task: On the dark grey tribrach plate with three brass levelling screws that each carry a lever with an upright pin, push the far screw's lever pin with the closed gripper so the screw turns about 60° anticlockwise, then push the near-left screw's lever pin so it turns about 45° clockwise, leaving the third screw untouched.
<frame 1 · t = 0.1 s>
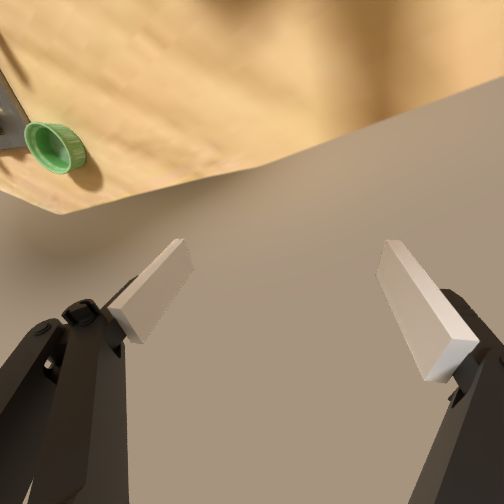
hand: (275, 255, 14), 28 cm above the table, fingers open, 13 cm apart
ramekin: (69, 146, 43), on the table
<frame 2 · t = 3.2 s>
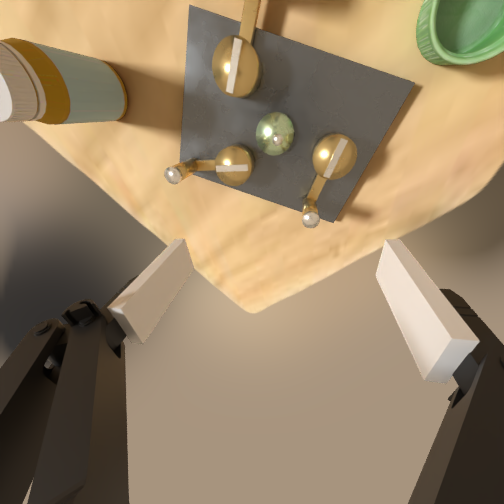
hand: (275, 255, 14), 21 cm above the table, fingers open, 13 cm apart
knob 2: (239, 31, 20), point 5 cm above the table, hinge at 0.0°
knob 3: (212, 168, 28), point 5 cm above the table, hinge at 0.0°
knob 1: (324, 181, 27), point 5 cm above the table, hinge at 0.0°
tribrach: (275, 133, 29), on the table
bottle: (108, 92, 30), on the table
ramekin: (461, 12, 20), on the table
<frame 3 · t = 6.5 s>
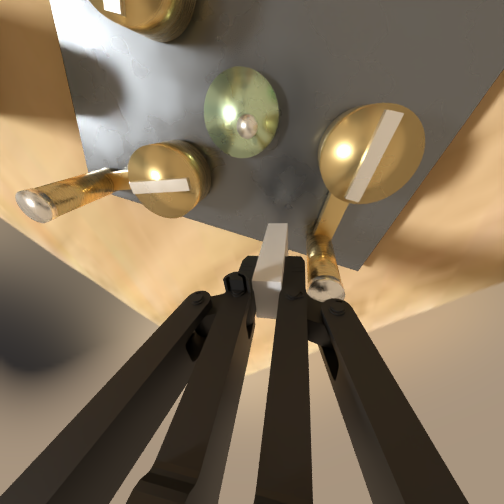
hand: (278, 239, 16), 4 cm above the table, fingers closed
knob 3: (125, 188, 15), point 5 cm above the table, hinge at 0.0°
knob 1: (347, 208, 13), point 5 cm above the table, hinge at 3.0°, touching gripper
tribrach: (246, 116, 15), on the table
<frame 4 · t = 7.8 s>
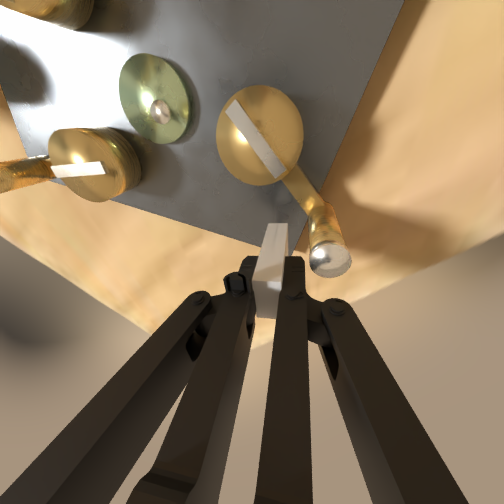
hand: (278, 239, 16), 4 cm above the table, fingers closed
knob 3: (48, 172, 15), point 5 cm above the table, hinge at 0.0°
knob 1: (286, 181, 12), point 5 cm above the table, hinge at 54.7°, touching gripper
tribrach: (166, 103, 16), on the table
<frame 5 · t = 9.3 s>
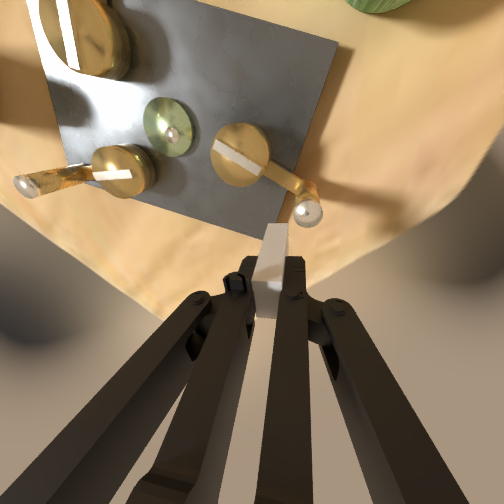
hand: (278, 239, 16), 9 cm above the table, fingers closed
knob 3: (90, 176, 21), point 5 cm above the table, hinge at 0.0°
knob 1: (265, 175, 18), point 5 cm above the table, hinge at 76.0°
tribrach: (176, 128, 22), on the table
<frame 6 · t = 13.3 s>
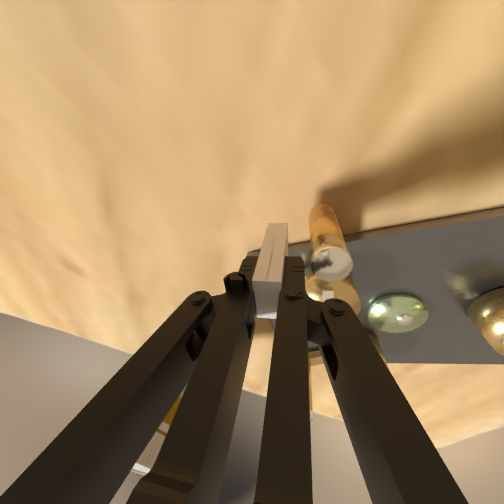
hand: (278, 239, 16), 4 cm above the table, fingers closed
knob 2: (327, 284, 16), point 5 cm above the table, hinge at -6.1°, touching gripper
knob 3: (336, 378, 23), point 5 cm above the table, hinge at 0.0°
tribrach: (390, 302, 22), on the table
bottle: (197, 325, 31), on the table
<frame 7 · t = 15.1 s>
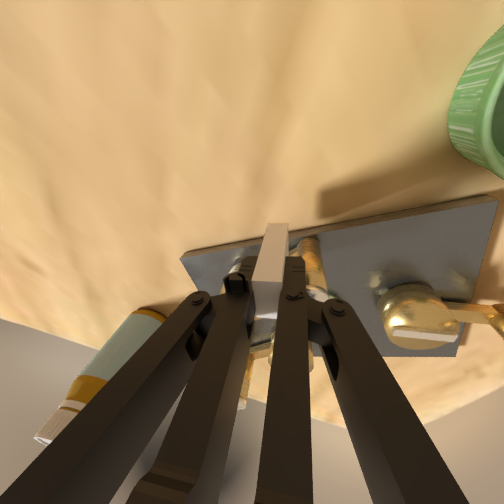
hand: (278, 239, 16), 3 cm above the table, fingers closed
knob 2: (267, 293, 18), point 5 cm above the table, hinge at -65.3°
knob 3: (270, 370, 24), point 5 cm above the table, hinge at 0.0°
knob 1: (463, 339, 16), point 5 cm above the table, hinge at 76.0°
tribrach: (317, 299, 23), on the table
bottle: (154, 321, 33), on the table
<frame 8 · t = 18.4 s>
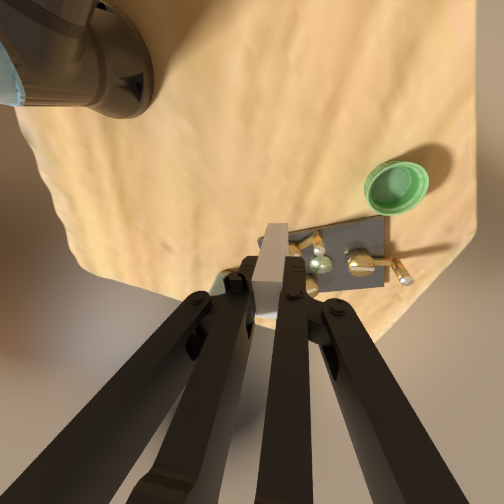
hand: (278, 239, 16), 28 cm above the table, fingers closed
knob 2: (300, 253, 44), point 5 cm above the table, hinge at -65.3°
knob 3: (297, 295, 51), point 5 cm above the table, hinge at 0.0°
knob 1: (377, 269, 43), point 5 cm above the table, hinge at 76.0°
tribrach: (320, 260, 50), on the table
bottle: (229, 278, 59), on the table
ramekin: (387, 183, 38), on the table
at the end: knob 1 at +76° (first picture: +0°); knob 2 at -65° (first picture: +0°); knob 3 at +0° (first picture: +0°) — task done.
